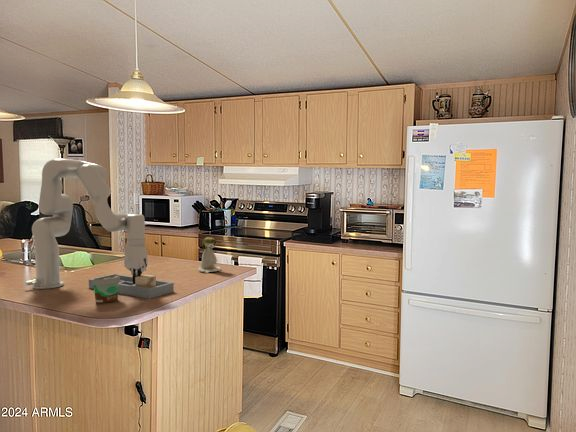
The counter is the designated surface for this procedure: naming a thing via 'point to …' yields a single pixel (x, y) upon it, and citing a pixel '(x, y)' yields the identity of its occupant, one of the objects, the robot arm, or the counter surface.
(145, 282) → the maple block
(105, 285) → the food container
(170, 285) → the tray
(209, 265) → the grey figurine
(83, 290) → the counter surface
